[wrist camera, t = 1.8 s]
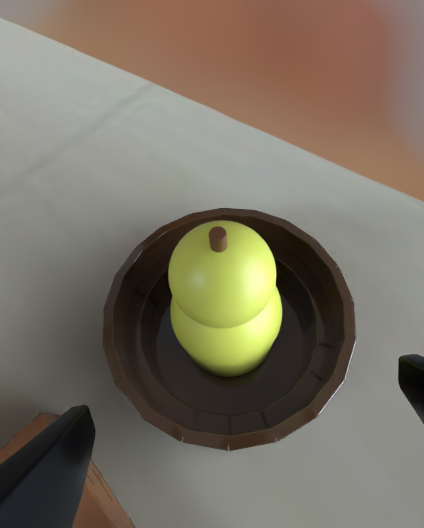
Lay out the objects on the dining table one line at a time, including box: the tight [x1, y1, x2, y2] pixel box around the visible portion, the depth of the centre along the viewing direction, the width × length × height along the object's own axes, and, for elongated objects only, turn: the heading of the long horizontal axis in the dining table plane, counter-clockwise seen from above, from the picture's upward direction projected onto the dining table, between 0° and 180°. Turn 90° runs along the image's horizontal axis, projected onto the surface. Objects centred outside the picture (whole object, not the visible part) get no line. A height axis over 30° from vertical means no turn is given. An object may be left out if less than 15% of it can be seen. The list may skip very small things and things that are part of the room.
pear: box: [168, 220, 282, 377], centre depth 17 cm, size 7×7×12 cm
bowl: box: [103, 208, 356, 451], centre depth 20 cm, size 14×14×5 cm
